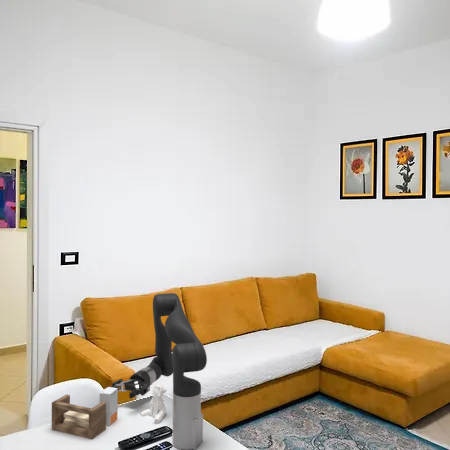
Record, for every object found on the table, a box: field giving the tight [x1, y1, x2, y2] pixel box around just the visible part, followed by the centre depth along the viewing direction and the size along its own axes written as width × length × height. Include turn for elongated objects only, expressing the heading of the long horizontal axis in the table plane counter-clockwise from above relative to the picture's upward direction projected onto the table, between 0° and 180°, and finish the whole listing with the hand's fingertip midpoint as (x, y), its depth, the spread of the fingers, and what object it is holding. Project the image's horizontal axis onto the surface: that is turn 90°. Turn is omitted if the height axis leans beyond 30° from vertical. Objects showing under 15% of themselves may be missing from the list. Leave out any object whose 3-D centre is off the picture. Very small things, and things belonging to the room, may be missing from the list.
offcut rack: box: [51, 394, 107, 440], centre depth 159 cm, size 17×8×10 cm, turn 69°
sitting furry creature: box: [139, 384, 167, 425], centre depth 171 cm, size 10×9×12 cm
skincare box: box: [99, 386, 119, 427], centre depth 165 cm, size 6×4×12 cm
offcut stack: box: [63, 411, 89, 430], centre depth 160 cm, size 12×5×5 cm, turn 69°
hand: (120, 394), depth 172 cm, fingers open, 8 cm apart
